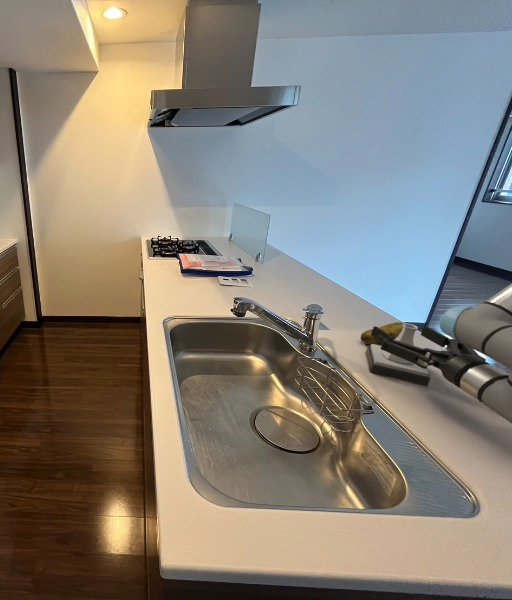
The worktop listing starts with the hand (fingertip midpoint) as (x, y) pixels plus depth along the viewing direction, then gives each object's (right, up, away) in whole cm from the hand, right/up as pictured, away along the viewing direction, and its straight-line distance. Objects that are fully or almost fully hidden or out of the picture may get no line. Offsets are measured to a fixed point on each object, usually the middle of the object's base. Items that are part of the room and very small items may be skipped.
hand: (398, 330), depth 89 cm
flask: (0, -8, 0) cm, 8 cm away
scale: (0, -11, +1) cm, 11 cm away
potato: (+6, -6, +13) cm, 16 cm away
